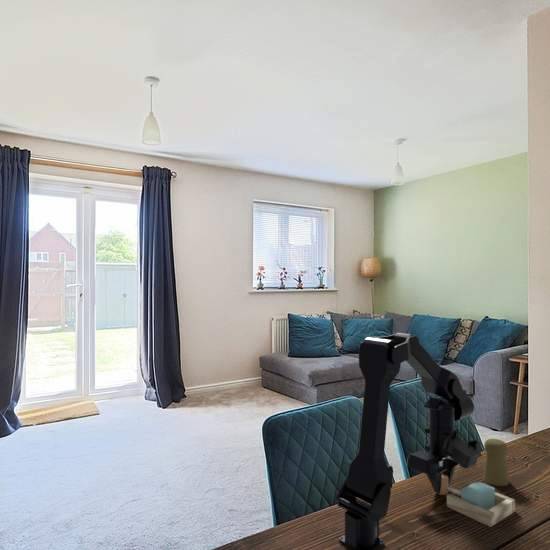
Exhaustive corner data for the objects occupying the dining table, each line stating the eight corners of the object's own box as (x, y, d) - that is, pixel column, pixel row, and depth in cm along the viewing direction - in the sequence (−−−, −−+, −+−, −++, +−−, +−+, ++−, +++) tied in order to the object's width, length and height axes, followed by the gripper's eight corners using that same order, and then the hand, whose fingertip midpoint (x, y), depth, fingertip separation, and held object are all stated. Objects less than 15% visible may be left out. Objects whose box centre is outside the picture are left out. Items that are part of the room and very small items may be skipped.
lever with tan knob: (478, 519, 96) (478, 497, 96) (427, 496, 106) (427, 475, 106) (494, 509, 100) (494, 488, 100) (444, 488, 110) (444, 468, 110)
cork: (483, 476, 117) (483, 434, 117) (510, 482, 114) (510, 438, 114) (481, 486, 112) (481, 442, 112) (508, 492, 108) (508, 446, 108)
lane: (490, 531, 92) (490, 514, 92) (446, 510, 100) (446, 495, 100) (514, 515, 98) (514, 499, 98) (471, 497, 106) (471, 482, 106)
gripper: (449, 444, 95) (449, 518, 95) (495, 426, 106) (495, 492, 106) (405, 429, 104) (405, 497, 104) (452, 414, 115) (452, 475, 115)
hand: (441, 490), depth 107 cm, fingers closed on lever with tan knob, 3 cm apart
